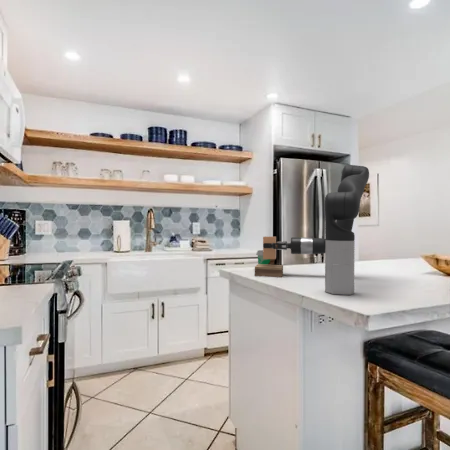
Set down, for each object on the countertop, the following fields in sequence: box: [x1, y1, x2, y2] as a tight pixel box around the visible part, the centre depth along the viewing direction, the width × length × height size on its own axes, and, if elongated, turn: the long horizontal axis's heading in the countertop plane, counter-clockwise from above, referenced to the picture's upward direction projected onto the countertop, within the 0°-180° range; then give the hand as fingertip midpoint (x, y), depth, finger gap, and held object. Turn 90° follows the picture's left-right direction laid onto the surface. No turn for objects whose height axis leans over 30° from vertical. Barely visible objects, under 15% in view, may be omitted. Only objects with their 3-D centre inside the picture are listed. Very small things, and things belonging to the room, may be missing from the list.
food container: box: [256, 249, 275, 265], centre depth 165 cm, size 12×6×10 cm, turn 25°
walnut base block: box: [254, 263, 284, 278], centre depth 152 cm, size 12×12×4 cm
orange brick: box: [262, 236, 277, 260], centre depth 152 cm, size 6×6×10 cm
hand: (264, 245), depth 153 cm, fingers closed on orange brick, 5 cm apart
